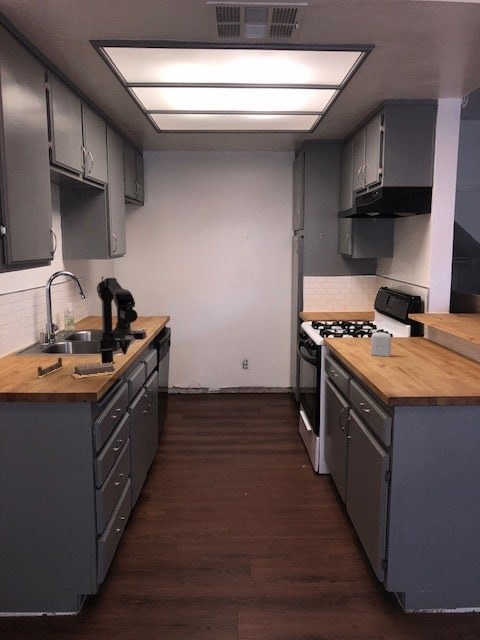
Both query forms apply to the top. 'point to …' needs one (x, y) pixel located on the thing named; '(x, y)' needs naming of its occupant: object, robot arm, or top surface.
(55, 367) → the stop board
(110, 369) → the packaged product
